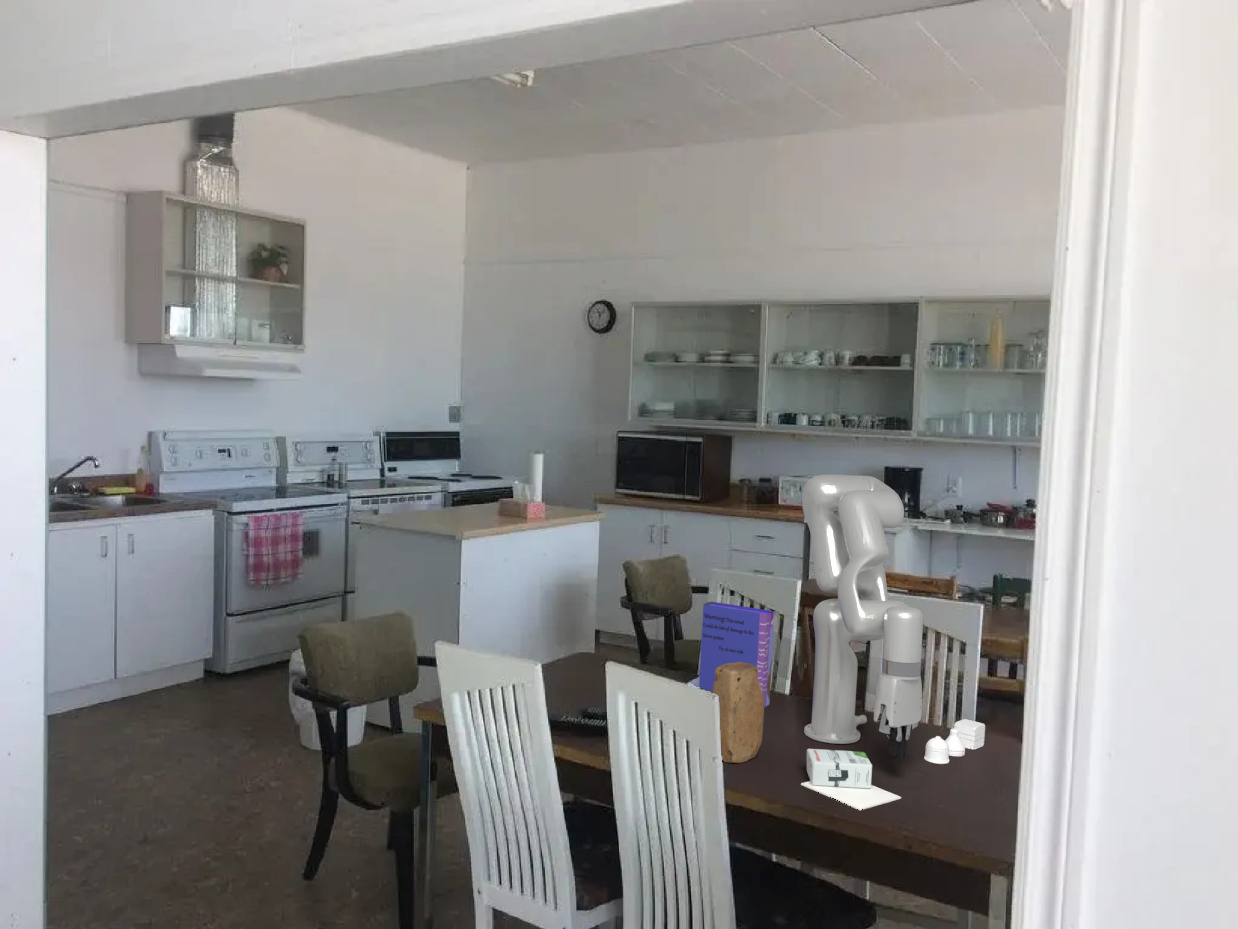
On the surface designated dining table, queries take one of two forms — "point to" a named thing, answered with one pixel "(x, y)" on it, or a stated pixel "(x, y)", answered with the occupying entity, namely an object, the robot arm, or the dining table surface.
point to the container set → (955, 741)
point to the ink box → (839, 768)
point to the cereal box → (736, 642)
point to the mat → (855, 795)
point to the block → (739, 710)
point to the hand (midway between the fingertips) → (897, 758)
